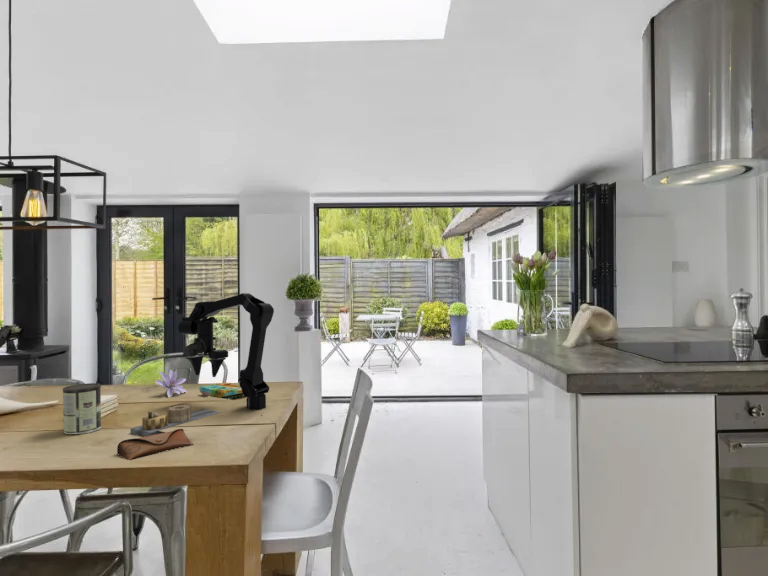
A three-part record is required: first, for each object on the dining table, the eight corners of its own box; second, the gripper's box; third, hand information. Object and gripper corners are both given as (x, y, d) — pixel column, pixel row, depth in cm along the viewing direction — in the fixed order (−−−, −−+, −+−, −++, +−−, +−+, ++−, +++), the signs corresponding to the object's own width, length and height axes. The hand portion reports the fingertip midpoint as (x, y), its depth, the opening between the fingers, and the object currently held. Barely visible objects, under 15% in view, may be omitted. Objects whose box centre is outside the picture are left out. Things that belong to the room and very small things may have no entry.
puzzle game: (224, 380, 207) (250, 386, 194) (224, 391, 206) (250, 397, 194) (199, 385, 198) (224, 390, 185) (199, 396, 197) (224, 402, 185)
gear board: (222, 416, 162) (221, 398, 163) (150, 437, 139) (150, 416, 139) (202, 413, 167) (202, 395, 167) (130, 433, 144) (130, 413, 144)
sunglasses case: (127, 461, 119) (122, 436, 122) (119, 469, 123) (115, 444, 126) (196, 444, 132) (190, 421, 135) (187, 452, 136) (182, 430, 139)
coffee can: (82, 425, 154) (82, 382, 154) (108, 426, 152) (108, 383, 152) (54, 434, 144) (54, 388, 144) (81, 436, 142) (81, 390, 142)
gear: (195, 418, 155) (195, 406, 155) (176, 423, 148) (176, 411, 148) (181, 416, 158) (181, 404, 158) (162, 421, 152) (162, 408, 152)
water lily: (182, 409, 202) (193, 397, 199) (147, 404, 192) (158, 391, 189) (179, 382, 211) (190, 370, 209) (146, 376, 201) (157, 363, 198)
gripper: (170, 336, 173) (170, 377, 173) (204, 337, 164) (204, 381, 164) (195, 333, 183) (196, 373, 183) (229, 334, 174) (229, 376, 174)
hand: (205, 376), depth 175 cm, fingers open, 9 cm apart
